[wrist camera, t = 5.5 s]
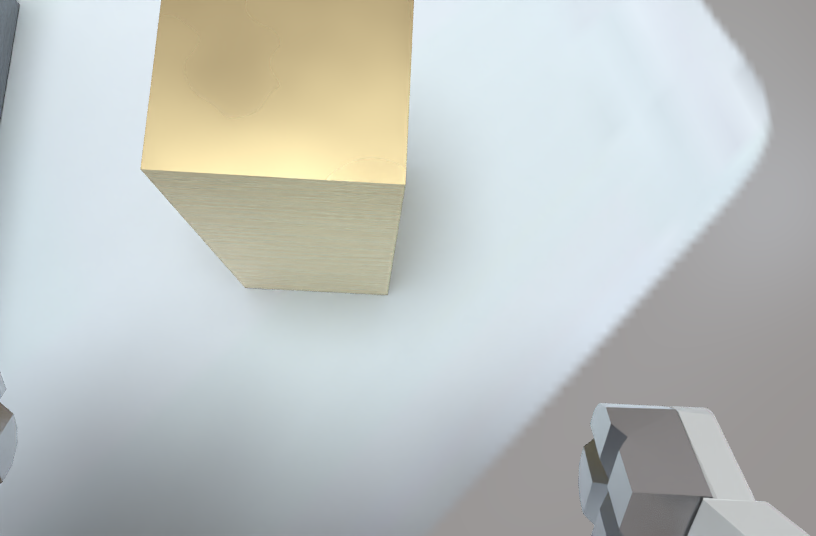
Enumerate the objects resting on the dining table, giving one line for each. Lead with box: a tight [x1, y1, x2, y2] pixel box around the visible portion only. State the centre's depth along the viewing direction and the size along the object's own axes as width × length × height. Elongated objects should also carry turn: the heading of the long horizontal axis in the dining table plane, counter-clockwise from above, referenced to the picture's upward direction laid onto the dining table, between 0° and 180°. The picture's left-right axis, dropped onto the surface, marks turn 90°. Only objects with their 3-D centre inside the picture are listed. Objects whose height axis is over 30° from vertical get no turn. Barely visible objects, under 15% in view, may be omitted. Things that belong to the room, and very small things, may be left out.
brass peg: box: [141, 0, 414, 295], centre depth 17 cm, size 4×4×10 cm
